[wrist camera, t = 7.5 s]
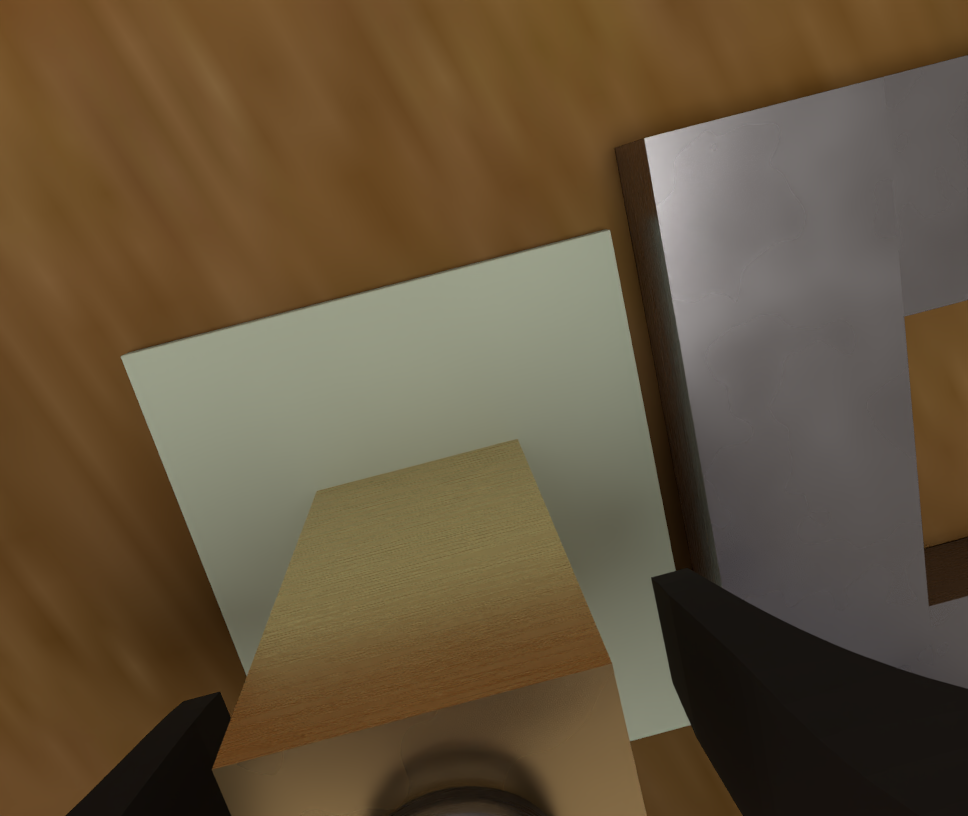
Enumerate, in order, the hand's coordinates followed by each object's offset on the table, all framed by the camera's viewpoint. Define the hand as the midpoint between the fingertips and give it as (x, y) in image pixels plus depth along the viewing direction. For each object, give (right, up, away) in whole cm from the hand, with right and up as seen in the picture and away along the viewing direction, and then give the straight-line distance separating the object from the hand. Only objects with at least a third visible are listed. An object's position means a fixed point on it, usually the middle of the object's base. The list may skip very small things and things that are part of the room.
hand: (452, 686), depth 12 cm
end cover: (0, +1, +4) cm, 5 cm away
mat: (0, +1, +5) cm, 5 cm away
